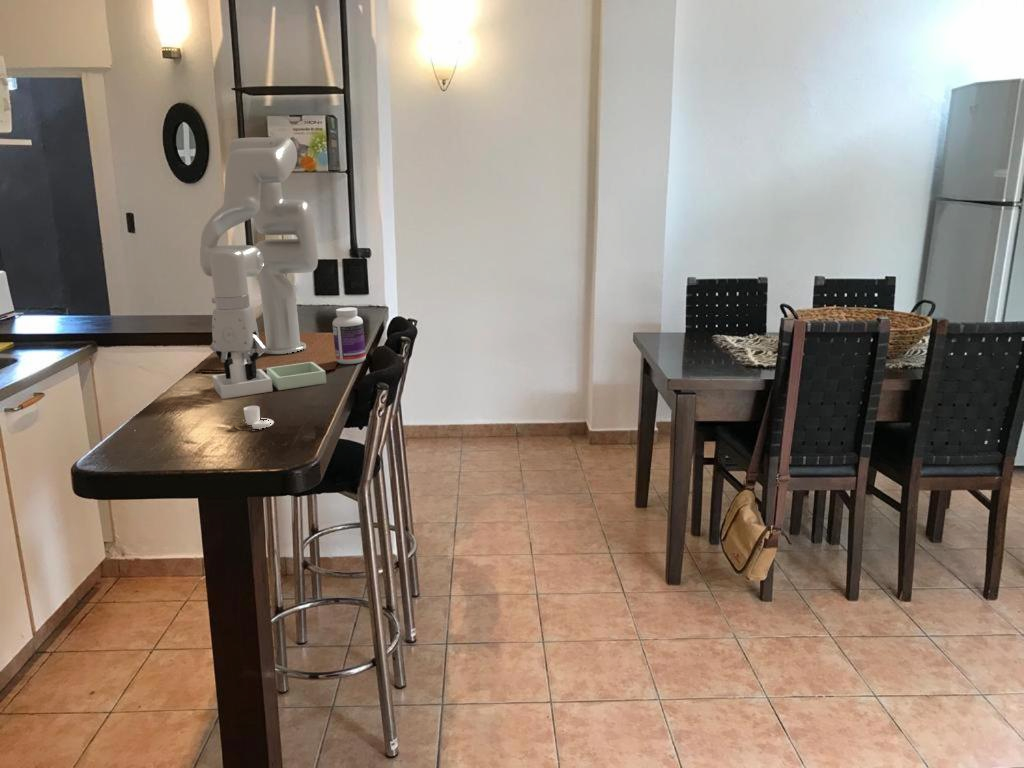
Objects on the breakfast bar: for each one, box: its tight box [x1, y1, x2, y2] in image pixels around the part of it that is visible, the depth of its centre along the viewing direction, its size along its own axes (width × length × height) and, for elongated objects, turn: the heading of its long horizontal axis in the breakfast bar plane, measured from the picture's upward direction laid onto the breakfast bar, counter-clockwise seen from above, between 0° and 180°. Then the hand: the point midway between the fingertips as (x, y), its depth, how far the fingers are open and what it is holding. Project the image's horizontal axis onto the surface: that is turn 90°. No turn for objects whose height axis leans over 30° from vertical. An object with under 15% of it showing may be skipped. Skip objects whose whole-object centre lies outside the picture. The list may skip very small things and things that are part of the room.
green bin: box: [266, 361, 327, 391], centre depth 200 cm, size 12×12×3 cm
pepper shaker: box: [229, 352, 253, 384], centre depth 193 cm, size 4×4×10 cm
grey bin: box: [211, 368, 274, 400], centre depth 194 cm, size 12×12×3 cm
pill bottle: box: [332, 306, 367, 365], centre depth 217 cm, size 8×8×14 cm
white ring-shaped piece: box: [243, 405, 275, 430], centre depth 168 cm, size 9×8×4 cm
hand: (241, 377), depth 194 cm, fingers closed on pepper shaker, 5 cm apart
